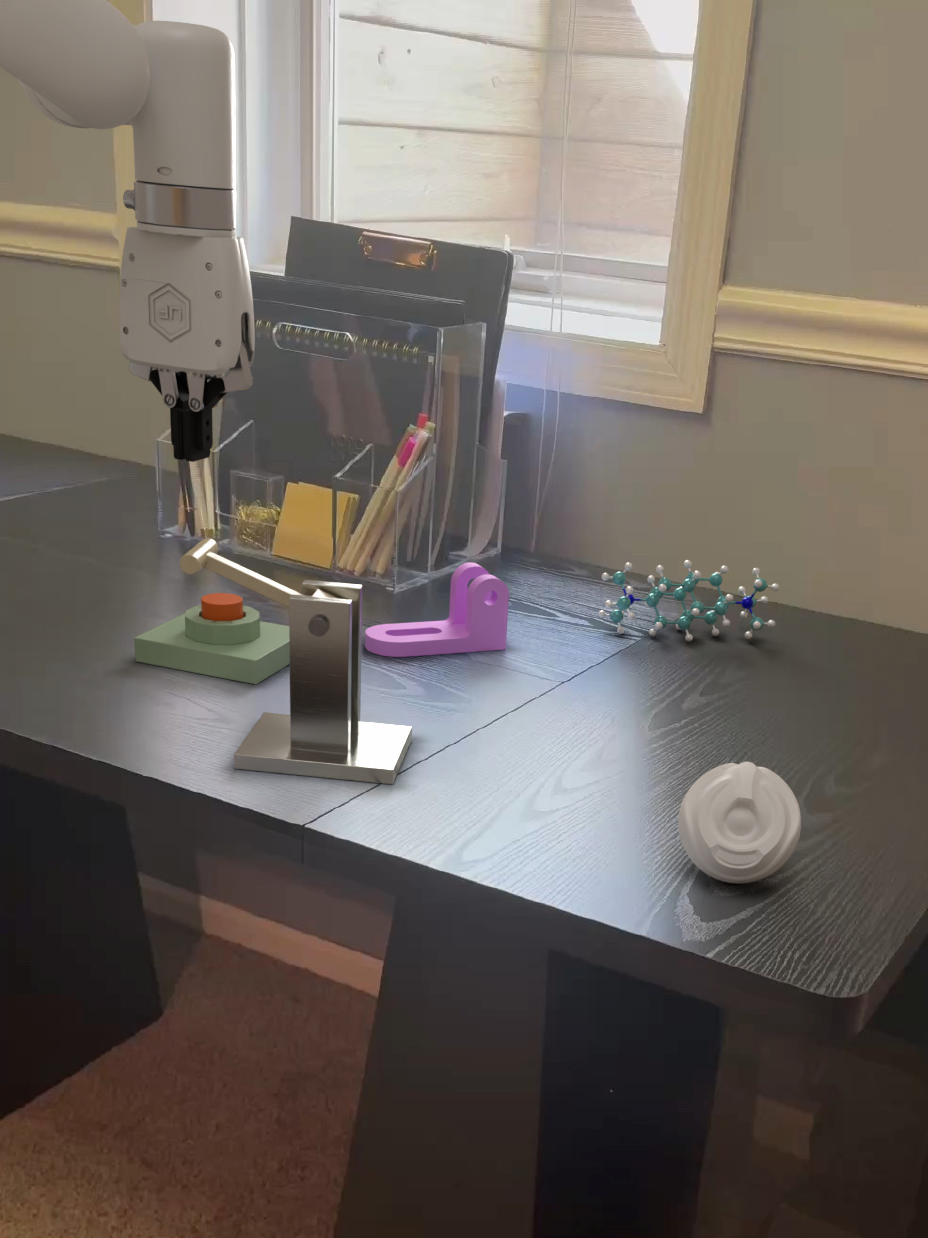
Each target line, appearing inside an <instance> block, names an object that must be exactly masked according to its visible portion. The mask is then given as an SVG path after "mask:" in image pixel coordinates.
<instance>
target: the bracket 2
mask: <svg viewBox="0 0 928 1238" xmlns="http://www.w3.org/2000/svg"><path fill="white" fill-rule="evenodd" d="M471 580H472V581H471ZM470 581H471V583H470V584H469V582H470ZM468 585H469V586H468ZM449 590H450V592H449V612H448V617H447V618H446V619H444V620H433V621H432V620H429V621H427V620H426V621H412V622H411V621H410V622H398V623H382V624H376V625H372V626H369V627H368V628H366V629H365V632H364V633H365V636H364V637H365V639H364V641H365V642H364V647H365V649H366V651H368V652H370V653H372V654H375V655H379V656H384V657H392V658H405V657H417V656H419V657H421V656H433V655H447V654H461V653H462V654H463V653H474V652H489V651H502V650H504V651H505V650H507V649H506V648H507V633H508V619H509V605H510V590H509V588H508V586H507V584H506V583H505V582H504V581H503V580H501V579H500V578H498V577H497V576H495V575H494V574H490V572H489V571H488V570H487V569H486V568H485V567H483V566H481V565H480V564H478V563H476V562H464V563H462V564H461V565H459V566H458V567H456V569H455V570H454V571H453V573H452V575H451V579H450V589H449Z"/></svg>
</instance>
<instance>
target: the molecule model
mask: <svg viewBox="0 0 928 1238" xmlns="http://www.w3.org/2000/svg"><path fill="white" fill-rule="evenodd" d="M692 566H693V565H692V561H691V560H689V559H685V561H684V562H683V567H684V568H685V569H687V570H688V573H687V574H686V577H685V579H684V580H683V582H682V583H673V582H672V580H671V579H670V578H669V577H665V576H664V571H665V568H664V565H662V564H661V565H660V564H659V565H657V566H656V567H655V571H656V573H657V574H660V577H661V578H660V579H659V580H658V582H657V586H656V585H655V581H656V577H655V576H654V575H652V574H651V575H650V574H649V575H648V576H647V582H648V583H649V584H651V586H652V588H651V589H650V591H649V594H647V595H646V598H635V596H634V595H633V593H634V590H635V589H634V588H633V586H630V585H628V586H627V587H626V588H625V585H624V584H625V582H626V581H627V575H626V573H627V571H628V572H629V571H631V570H632V569H633V564H632V563H631V562H626V563H625V564H624V570H623V571H617V572H615V573H613V575H610V574H609V573H608V572H603V573H602V574H601V576H600V578H601V580H602V581H604V582H606V581H608V580H609V579H610V580H612V582H613V584H615V585H616V586H620V587H621V589H622V592H623V593H624V594H623V595H622V596H620V597H619V598H617V602H612V601H611V600H605V602H604V608H606V609H611V608H612V607H613V606H617V607H618V609H617V608H616V609H613V610H612V611H611V612H610V613H606V611H605V610H603V609H601V610H599V611H598V613H597V616H598V618H600V619H604V618H605V617H609V619H610V620H611V621H612V622H613V623H616V624H617V626H618V627H617V628H616V632H617V634H618V635H623V634H624V633H625V628H624V626H621V622H622V621H623V619H624V617H625V612H624V611H625V610H626V612H627V614H626V618H627V619H628V620H629V621H633V620H635V618H636V614H635V612H632V611H630V609H629V608H630V607H631V606H632V605H633V604H634V603H635V602H644V605H645V607H646V608H653V609H654V612H655V614H656V617H654V620H653V625H654V628H651V629H649V630H648V635H649V636H650V637H655V636H656V635H657V631H660V630H662V629H664V628H666V627H667V625H672V624H673V625H675V629H676V630H677V631H682V630H684V631H685V634H686V635H685V637H684V640H685V641H686V642H688V643H690V642H692V641H693V639H694V636H693V634H691V633H689V628H690V626H691V623H692V622H693V621H694V619H701V620H704V622H705V623H706V624H707V625H711V627H712V630H711V635H712V636H713V637H718V636H719V635H720V630H719V629H718V628H716V625H715V624H716V623H717V621H718V616H721V617H722V619H723V620H722V622H721V624H722V626H723V627H724V628H728V627H729V626H730V625H731V621H730V620H729V619H728V618H726V615H725V614H727V613H728V609H729V607H730V605H741V608H742V609H744V610H743V611H741V612H740V614H739V616H740V618H741V619H742V620H745V619H747V618H748V615H749V614H748V611H749V613H750V615H751V617H752V619H751V620H750V622H749V625H750V628H751V629H750V630H748V631H746V632H745V633H744V638H745V639H746V640H751V639H752V638H753V636H754V635H753V632H754V631H760V630H761V629H763V627H764V626H768V628H774V627H775V626H776V621H775V620H773V619H769V620H768V621H767V622H764V620H763V618H761V617H760V616H755V613H754V612H753V610H752V609H753V608H754V607H755V606H756V605H757V603H761V604H762V605H766V604H768V602H769V598H768V597H767V596H765V595H763V596H761V597H760V599H756V597H754V596H755V595H756V594H757V593H758V592H760V593H761V592H764V591H765V590H766V589H767V588H770V589H771V590H772V592H778V591H779V590H780V585H779V584H778V583H776V582H775V583H773V584H771V585H770V584H768V582H767V580H766V579H765V578H763V577H760V574H761V569H760V568H759V567H754V568H753V569H752V570H751V573H752V575H753V576H755V577H756V579H755V580H754V582H753V588H754V591H753V592H752V594H750V595H747V594H746V591H747V589H746V587H745V586H739V587H738V588H737V593H738V594H740V595H743V598H742V599H741V601H734V595H733V594H731V593H728V594H726V595H723V593H722V590H721V587H720V586H721V585H722V583H723V576H722V575H724V574H727V573H728V572H729V567H728V565H722V566H720V572H719V571H716V572H714V573H712V574H710V576H709V578H708V577H702V573H701V571H699V570H695V571H692V569H691V567H692ZM700 581H702V582H703V581H704V582H707V581H708V582H709V584H710V586H712V587H716V588H717V591H718V594H719V597H718V598H717V599H716V603H715V604H714V606H705V605H704V603H703V602H702V601H701V600H697V599H696V598H695V594H694V592H693V591H695V589H696V585H698V584H699V582H700ZM672 587H677V588H675V589H674V591H673V592H668V591H670V589H671V588H672ZM687 593H690V595H691V598H692V601H693V602H692V603H691V604H690V609H687V607H686V604H685V602H684V600H685V599H686V597H687ZM663 596H673V598H674V600H676V601H678V602H681V605H682V608H683V611H682V613H681V614H680V617H679V618H678V619H677V621H676V620H675V621H674V620H673V621H672V620H668V618H667V617H666V616H665V615H661V614H660V613H659V610H658V608H657V606H658V605H659V603H660V600H661V599H662V598H663ZM704 610H709V611H707V612H705V614H704V615H701V614H702V613H703V612H704Z"/></svg>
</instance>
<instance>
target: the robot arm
mask: <svg viewBox="0 0 928 1238" xmlns="http://www.w3.org/2000/svg"><path fill="white" fill-rule="evenodd" d="M0 69H2V70H4V71H5V72H7V73H8V74H10V75H11V76H13V77H14V78H15V79H17V80H18V83H19V85H20V88H21V90H22V91H23V93H24V95H25V96H26V98H27V99H28V101H29V102H30V103H31V105H32V106H34V108H35V109H36V110H37V111H39V112H40V113H41V114H42V115H43V116H45V117H47V118H48V119H49V120H50V121H53V122H55V123H58V124H60V125H62V126H66V127H70V128H75V129H76V128H77V129H95V130H109V129H114V128H118V127H121V126H131V127H132V136H133V137H132V139H133V160H134V161H133V163H134V180H135V181H134V182H133V189H126V190H124V192H123V195H122V202H123V205H124V207H125V208H126V209H129V210H133V211H134V218H135V220H136V226H128V227H127V228H126V231H125V237H124V243H123V248H122V256H121V264H120V265H121V266H120V277H119V298H118V301H119V302H118V305H119V306H118V331H119V332H118V335H119V336H118V339H119V347H120V352H121V355H122V356H123V357H124V358H125V359H126V360H128V362H129V363H128V370H129V372H130V374H132V375H134V376H135V377H138V378H140V379H142V380H145V381H147V382H151V383H152V385H153V386H154V387H155V388H156V390H157V391H158V392H159V394H160V395H161V397H162V401H163V404H164V406H165V407H167V408H168V409H169V415H170V416H169V417H170V418H169V419H170V421H169V422H170V442H171V445H172V446H173V458H174V459H175V460H179V461H184V460H185V461H186V462H191V463H193V462H197V461H200V460H201V461H202V460H204V459H208V458H210V456H211V449H212V448H213V445H214V441H213V440H214V439H213V438H214V437H213V436H214V435H213V429H214V428H213V409H215V408H217V407H218V406H219V403H220V401H221V400H222V399H223V398H224V397H225V396H226V395H227V394H228V393H233V392H238V391H245V390H249V389H251V388H252V387H253V386H254V385H253V384H254V381H253V380H254V379H253V376H252V372H251V371H252V370H251V367H252V365H253V363H254V360H255V350H256V348H255V346H256V344H255V343H256V337H255V336H256V334H255V333H256V332H255V330H256V329H255V312H254V311H255V310H254V298H253V288H252V287H253V286H252V280H251V271H250V265H249V261H248V260H249V259H248V254H247V250H246V246H245V245H246V244H245V242H244V237H242V236H237V191H236V189H237V162H236V161H237V158H236V155H237V154H236V61H235V50H234V46H233V44H232V41H231V39H230V38H229V37H228V35H226V33H225V32H223V31H222V30H220V29H218V28H215V27H212V26H207V25H203V24H197V23H189V22H181V21H171V20H170V21H169V20H146V21H143V22H140V23H139V24H133V23H132V22H130V20H129V19H128V17H127V16H125V15H124V13H122V11H120V9H118V8H117V7H116V6H114V5H113V4H112V3H110V2H109V1H108V0H0ZM227 372H228V374H226V373H227ZM223 374H226V375H223Z"/></svg>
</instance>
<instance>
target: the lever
mask: <svg viewBox="0 0 928 1238" xmlns="http://www.w3.org/2000/svg"><path fill="white" fill-rule="evenodd" d="M218 553H219V545H218V543H217V541H216V540H215V539H213V538H210V537H206V538H203V539H202V540H201V541H199V542H198V543H197V544H196V545H194V546H193V547H192V548H191V549H189V550H188V551H187V552H186V553H184V555H182V556H181V557H180V559H179V567H180V569H181V571H182V572H183V573H185V574H186V575H191V576H192V575H195V574H197V573H198V572H199V571H200V570H201V569H203V568H204V569H206V570H208V571H210V572H212V573H215V574H216V575H219V576H221V577H223V578H225V579H227V580H229V581H231V582H234V583H235V584H238V585H240V586H242V587H244V588H246V589H249V590H250V591H253V592H255V593H257V594H259V595H262V596H263V597H265V598H268V599H269V600H272V601H275V602H276V603H279V604H281V605H283V606H285V607H287V608H289V598H290V597H291V595H302V593H300V592H298V591H296V590H294V589H291V588H289V587H287V586H285V585H283V584H281V583H279V582H276V581H274V580H272V579H271V578H268V577H266V576H264V575H262V574H259V573H258V572H255V571H253V570H251V569H249V568H247V567H244V566H242V565H241V564H238V563H236V562H234V561H231V560H230V559H227V558H225V557H224V556H221V555H218ZM313 596H315V597H326V598H336V597H334V596H332V595H330V594H328V593H326V592H323V591H321V590H319V589H317V591H316V592H315V593H314V594H313ZM336 599H338V598H336Z"/></svg>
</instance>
